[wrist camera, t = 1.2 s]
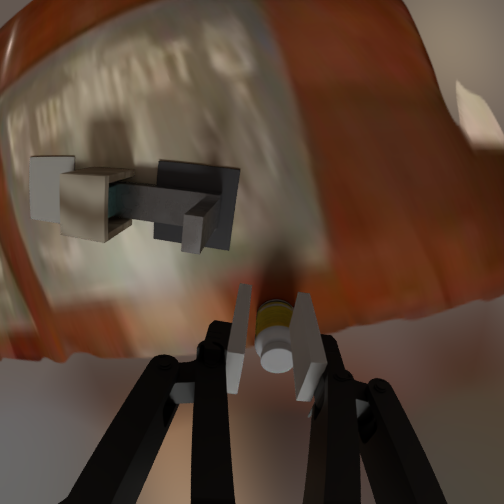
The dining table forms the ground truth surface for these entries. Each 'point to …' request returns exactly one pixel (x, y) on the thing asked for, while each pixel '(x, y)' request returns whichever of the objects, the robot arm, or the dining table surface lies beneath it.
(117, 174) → the tunnel
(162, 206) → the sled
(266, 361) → the pill bottle
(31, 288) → the dining table surface
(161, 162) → the grey shoe shape
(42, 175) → the mat
